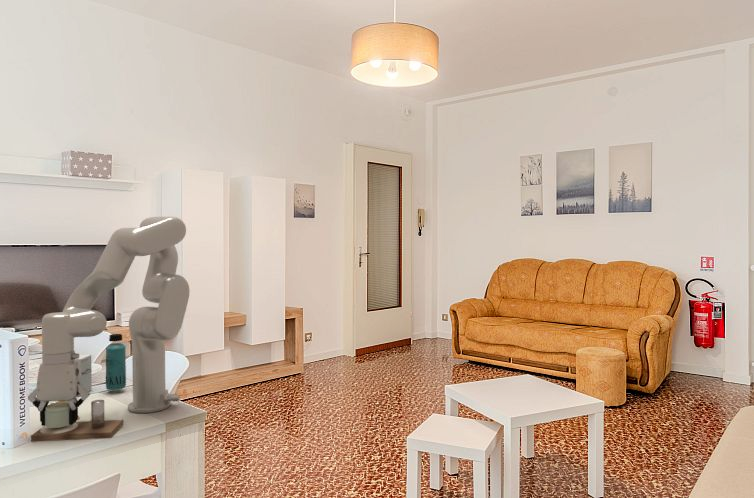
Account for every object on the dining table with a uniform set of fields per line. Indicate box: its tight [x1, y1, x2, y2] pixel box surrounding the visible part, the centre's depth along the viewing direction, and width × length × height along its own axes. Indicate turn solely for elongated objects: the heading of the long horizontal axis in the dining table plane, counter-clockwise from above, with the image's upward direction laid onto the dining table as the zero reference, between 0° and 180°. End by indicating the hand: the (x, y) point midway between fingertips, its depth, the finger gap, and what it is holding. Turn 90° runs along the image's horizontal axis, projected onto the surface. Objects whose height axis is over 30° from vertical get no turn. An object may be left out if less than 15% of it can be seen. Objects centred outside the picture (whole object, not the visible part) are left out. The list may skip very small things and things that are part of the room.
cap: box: [44, 402, 71, 428], centre depth 152 cm, size 6×6×6 cm
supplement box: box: [74, 354, 93, 397], centre depth 190 cm, size 7×7×13 cm
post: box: [90, 399, 105, 429], centre depth 153 cm, size 3×3×7 cm
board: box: [30, 419, 124, 442], centre depth 153 cm, size 20×10×2 cm, turn 97°
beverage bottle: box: [105, 333, 127, 391], centre depth 192 cm, size 6×7×20 cm
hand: (59, 423), depth 152 cm, fingers closed on cap, 6 cm apart
